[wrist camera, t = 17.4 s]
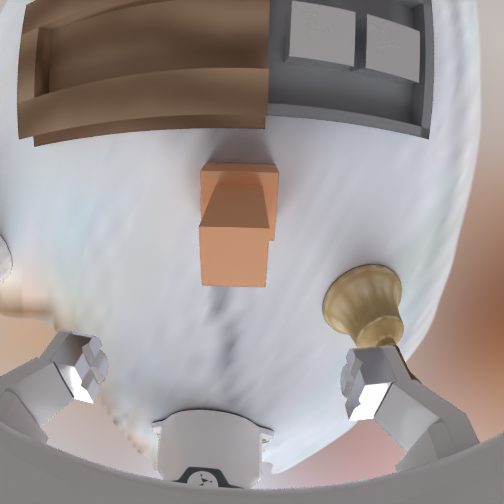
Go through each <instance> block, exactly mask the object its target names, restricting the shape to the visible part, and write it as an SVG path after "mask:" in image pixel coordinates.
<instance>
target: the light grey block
mask: <svg viewBox="0 0 504 504" xmlns="http://www.w3.org/2000/svg"><path fill="white" fill-rule="evenodd" d="M354 53H355V12H353V11H348V10H344V9H339V8H334V7H329V6H324V5H318V4H312V3H306V2H299V1H292V2H291V4H290V6H289V9H288V11H287V14H286V28H285V47H284V63H285V64H294V65H303V66H310V67H317V68H324V69H330V70H336V71H342V70H345V69H348V68H351V67H354Z"/></svg>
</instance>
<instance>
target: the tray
mask: <svg viewBox="0 0 504 504" xmlns="http://www.w3.org/2000/svg"><path fill="white" fill-rule="evenodd" d="M292 1H299V2H306V3H312V4H318V5H324V6H329V7H334V8H339V9H344V10H348V11H353V12H355V22H356V21H358V20H359V19H360V18H362V17H363V16H365V15H366V14H369V15H372V16H376V17H379V18H382V19H386V20H389V21H392V22H395V23H398V24H401V25H404V26H406V27H409V28H412V29H415V30H417V31H420V67H419V83H403V84H398V83H394V82H390V81H387V80H383V79H379V78H375V77H371V76H366V75H362V74H357V73H352V72H350V68H348V69H345V70H342V71H336V70H330V69H324V68H317V67H310V66H303V65H294V64H285V63H284V47H285V28H286V14H287V11H288V9H289V6H290V4H291V2H292ZM267 69H269V84H268V107H267V115H270V116H286V117H298V118H309V119H319V120H327V121H335V122H343V123H350V124H356V125H362V126H368V127H374V128H380V129H385V130H390V131H395V132H400V133H404V134H409V135H413V136H418V137H422V138H426V139H429V133H430V124H431V114H432V101H433V83H434V31H433V15H432V3H431V0H270V14H269V40H268V64H267Z"/></svg>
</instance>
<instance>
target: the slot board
mask: <svg viewBox="0 0 504 504" xmlns="http://www.w3.org/2000/svg"><path fill="white" fill-rule="evenodd" d="M269 14H270V0H35V1H33V2H31V3H30V4H28V5H26V10H25V16H24V21H23V28H22V35H21V43H20V52H19V64H18V83H17V115H18V135H19V139H23V138H27V137H31V136H33V137H34V147H36V146H40V145H45V144H50V143H56V142H61V141H67V140H73V139H79V138H86V137H93V136H100V135H108V134H117V133H127V132H137V131H150V130H166V129H189V128H247V129H265V115H266V116H267V107H268V84H269V69H267V64H268V40H269Z"/></svg>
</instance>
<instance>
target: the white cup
mask: <svg viewBox="0 0 504 504" xmlns="http://www.w3.org/2000/svg"><path fill="white" fill-rule="evenodd" d="M11 269H12V261H11V254H10V252H9V250H8V247H7V245H6V243H5V241H4V240H3V239H2V237H1V236H0V285H1V284H2V283H3V282H4V281H5V280H6V278H7V277H8V276H9V275H10V273H11Z"/></svg>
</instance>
